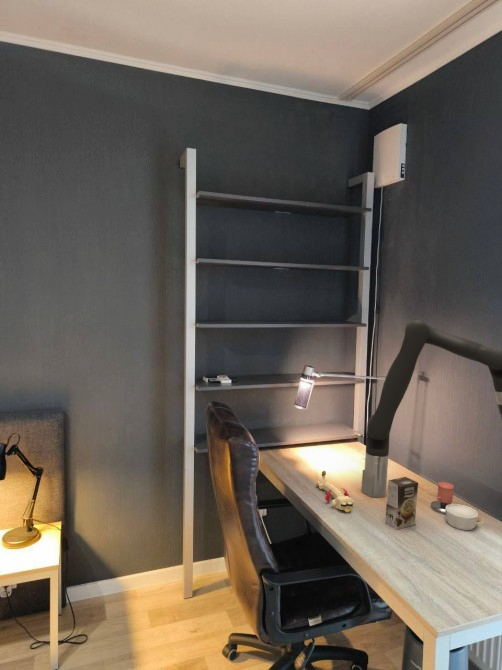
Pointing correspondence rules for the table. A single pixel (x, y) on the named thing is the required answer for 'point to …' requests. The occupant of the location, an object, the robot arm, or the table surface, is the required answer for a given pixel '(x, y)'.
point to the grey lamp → (439, 506)
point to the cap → (445, 492)
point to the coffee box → (401, 502)
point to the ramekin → (461, 516)
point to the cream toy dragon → (336, 495)
